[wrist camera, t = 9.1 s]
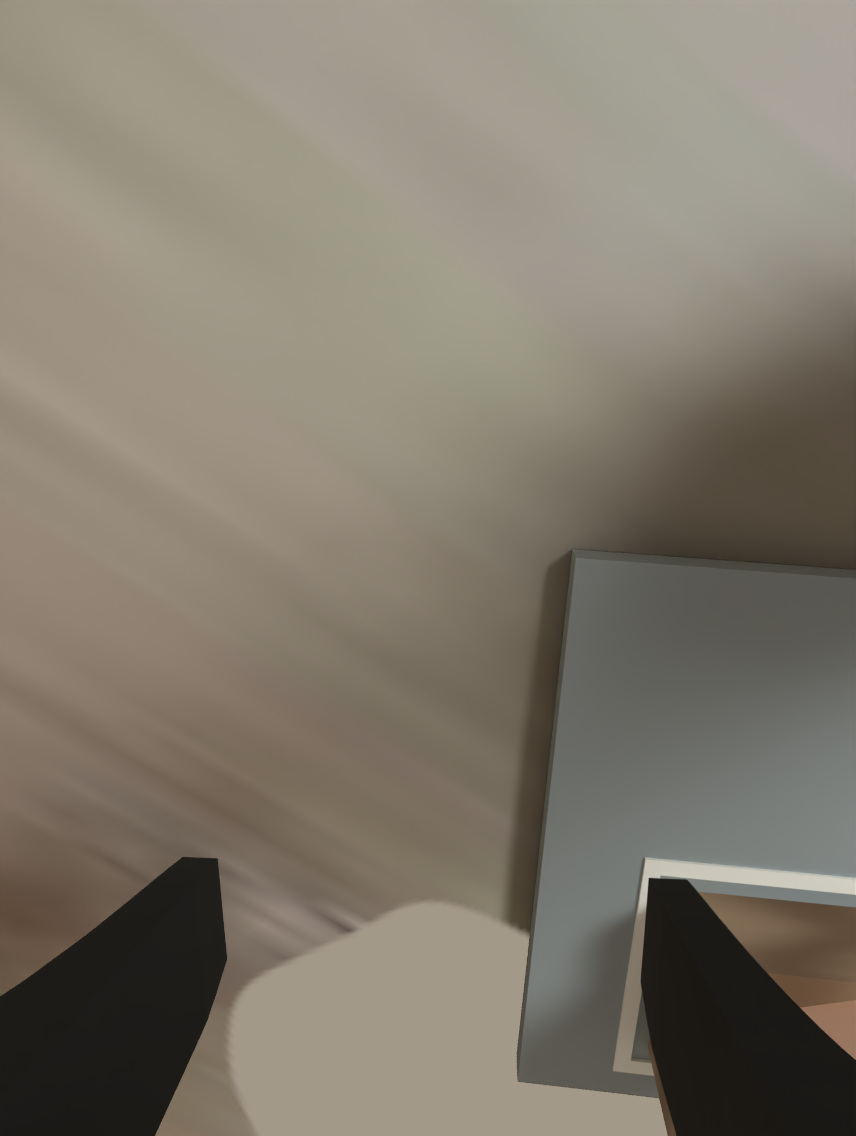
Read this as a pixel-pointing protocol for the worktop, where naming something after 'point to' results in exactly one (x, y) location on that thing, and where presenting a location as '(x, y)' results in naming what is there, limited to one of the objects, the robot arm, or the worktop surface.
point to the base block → (789, 951)
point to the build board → (681, 781)
